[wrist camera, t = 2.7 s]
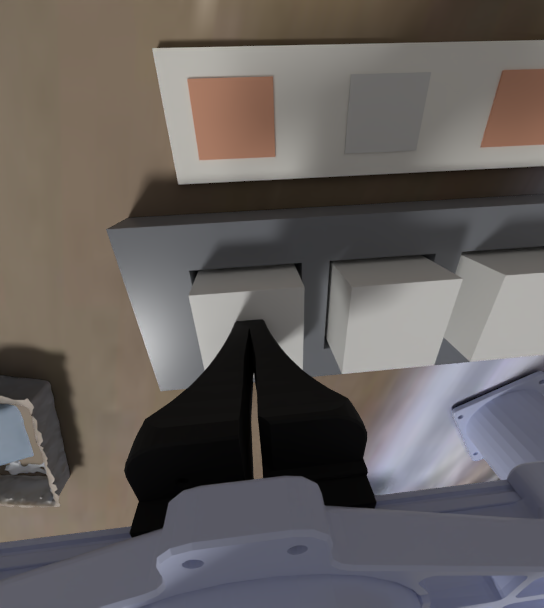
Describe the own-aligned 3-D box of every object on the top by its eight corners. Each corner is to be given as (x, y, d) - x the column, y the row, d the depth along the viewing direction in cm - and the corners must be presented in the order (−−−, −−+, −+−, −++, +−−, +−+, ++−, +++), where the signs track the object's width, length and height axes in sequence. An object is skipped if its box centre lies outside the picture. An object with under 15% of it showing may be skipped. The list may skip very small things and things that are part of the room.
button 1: (536, 245, 15) (609, 267, 12) (503, 319, 18) (557, 353, 15) (453, 250, 15) (505, 275, 12) (430, 325, 17) (470, 361, 14)
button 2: (292, 259, 15) (304, 287, 12) (292, 334, 17) (302, 372, 14) (200, 266, 15) (188, 295, 11) (213, 340, 17) (207, 381, 14)
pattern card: (602, 41, 12) (616, 37, 12) (551, 165, 15) (560, 165, 14) (155, 51, 11) (151, 47, 11) (179, 183, 14) (177, 184, 13)
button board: (587, 191, 16) (643, 197, 13) (518, 332, 21) (550, 354, 18) (127, 217, 14) (106, 229, 12) (170, 363, 19) (160, 391, 17)
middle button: (418, 253, 15) (463, 278, 12) (400, 328, 17) (434, 365, 14) (329, 259, 15) (352, 287, 12) (324, 334, 17) (342, 374, 14)
